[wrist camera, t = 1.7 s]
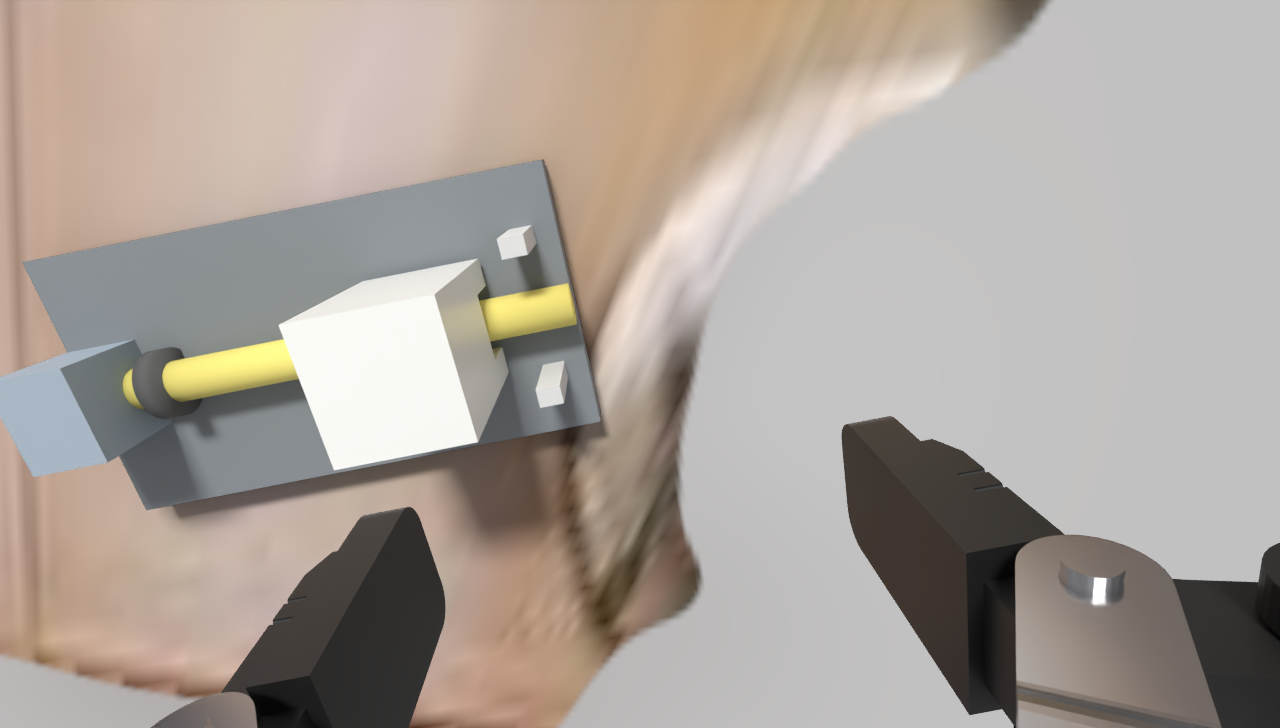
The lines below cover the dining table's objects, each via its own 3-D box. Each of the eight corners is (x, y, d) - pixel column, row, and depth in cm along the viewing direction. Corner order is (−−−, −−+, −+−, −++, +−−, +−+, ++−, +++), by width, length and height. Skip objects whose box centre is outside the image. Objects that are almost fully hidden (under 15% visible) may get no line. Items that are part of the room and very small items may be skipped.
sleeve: (478, 258, 27) (434, 294, 20) (508, 371, 29) (478, 442, 22) (363, 281, 27) (278, 324, 20) (400, 393, 29) (334, 470, 22)
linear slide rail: (543, 159, 27) (531, 160, 22) (600, 412, 31) (600, 460, 26) (46, 258, 27) (-76, 280, 23) (162, 497, 31) (80, 561, 26)
